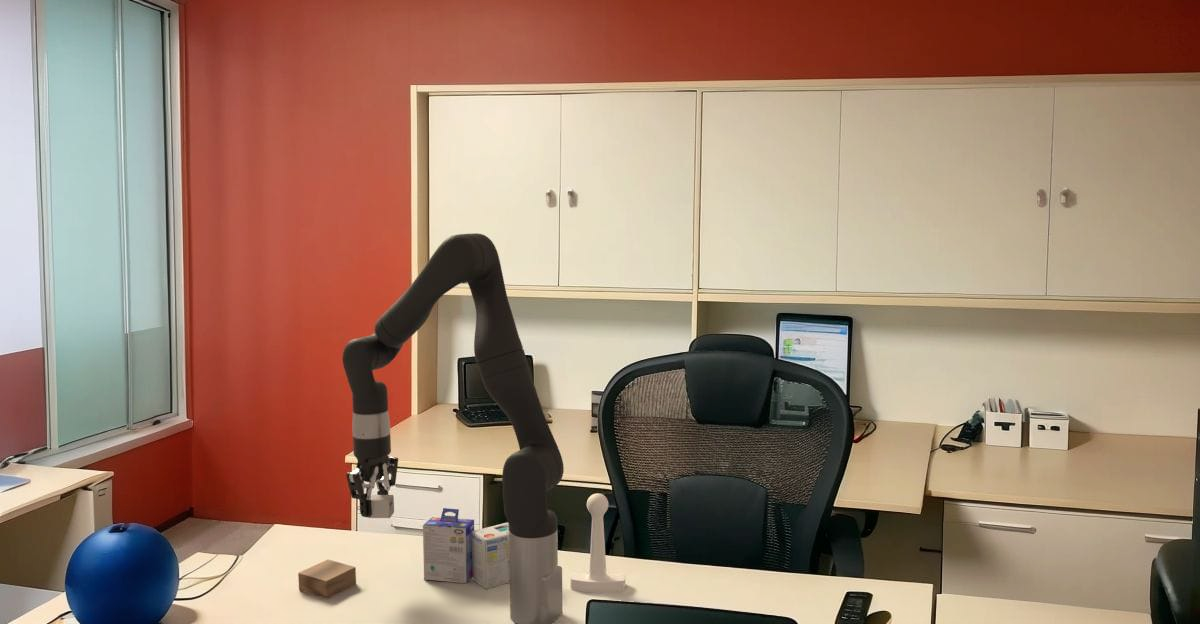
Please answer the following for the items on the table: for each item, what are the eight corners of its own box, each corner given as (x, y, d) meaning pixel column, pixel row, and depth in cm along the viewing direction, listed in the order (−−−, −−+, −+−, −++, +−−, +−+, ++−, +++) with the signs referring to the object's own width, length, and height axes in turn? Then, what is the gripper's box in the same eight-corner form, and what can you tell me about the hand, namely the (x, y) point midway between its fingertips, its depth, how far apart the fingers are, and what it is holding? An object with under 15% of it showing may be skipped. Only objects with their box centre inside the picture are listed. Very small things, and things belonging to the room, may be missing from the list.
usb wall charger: (389, 519, 188) (388, 500, 188) (355, 519, 189) (354, 500, 188) (394, 512, 192) (393, 494, 192) (361, 512, 192) (360, 493, 192)
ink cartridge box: (476, 573, 196) (475, 508, 194) (467, 584, 190) (466, 517, 189) (433, 569, 198) (431, 505, 196) (423, 580, 192) (421, 514, 191)
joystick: (569, 591, 187) (569, 497, 184) (573, 576, 194) (572, 485, 192) (624, 593, 186) (624, 498, 183) (626, 577, 193) (626, 486, 191)
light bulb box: (514, 567, 199) (513, 519, 198) (530, 577, 194) (530, 528, 192) (470, 579, 193) (469, 530, 192) (486, 590, 188) (485, 539, 186)
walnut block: (356, 585, 191) (355, 567, 190) (327, 600, 184) (326, 581, 183) (328, 577, 195) (327, 559, 194) (299, 591, 188) (298, 572, 187)
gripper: (362, 443, 180) (366, 526, 183) (407, 426, 193) (410, 504, 195) (333, 439, 184) (337, 521, 186) (379, 422, 196) (382, 499, 199)
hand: (374, 512), depth 191 cm, fingers closed on usb wall charger, 4 cm apart
